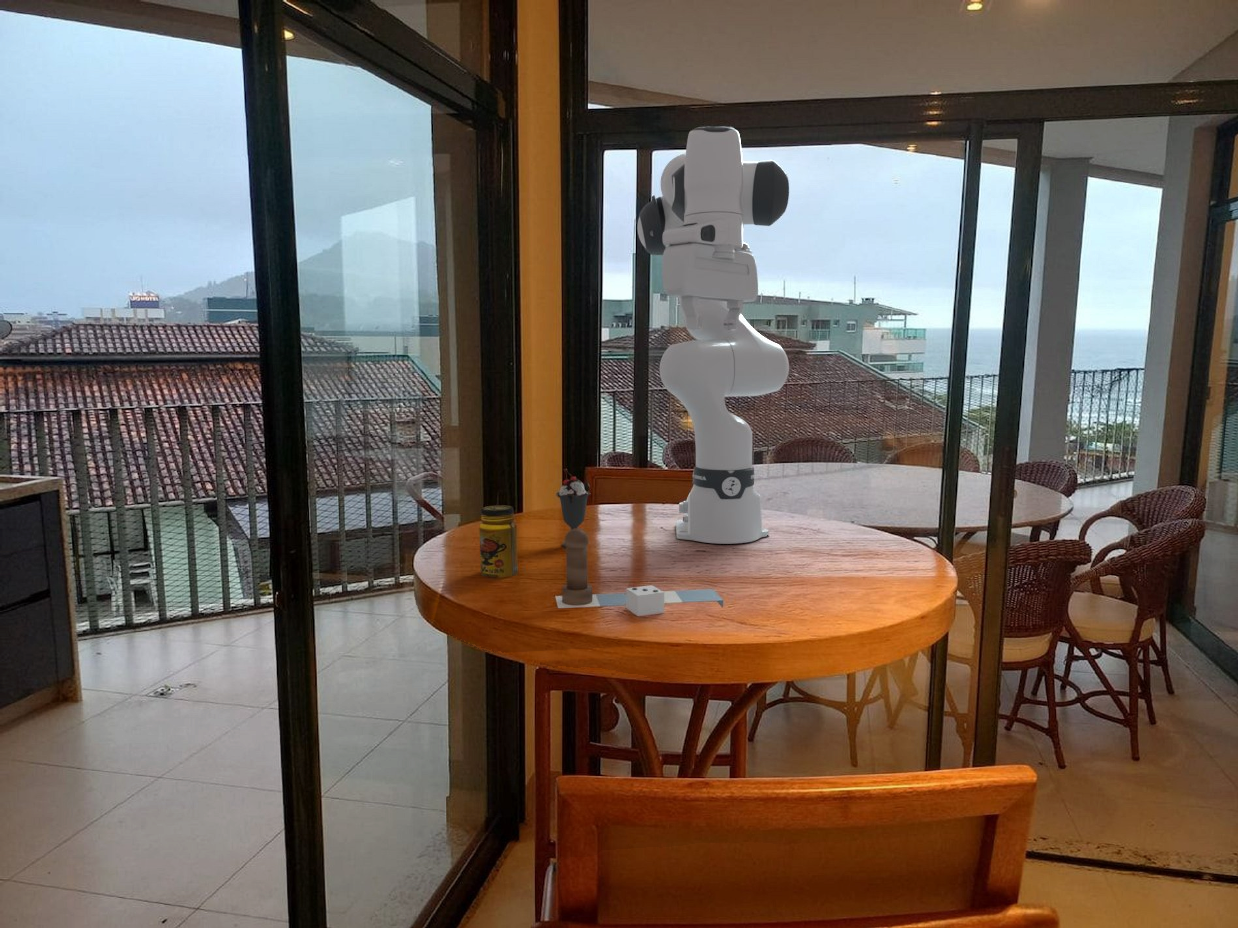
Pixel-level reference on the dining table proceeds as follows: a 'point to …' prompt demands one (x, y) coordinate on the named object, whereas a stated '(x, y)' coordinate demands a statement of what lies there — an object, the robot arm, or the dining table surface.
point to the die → (645, 600)
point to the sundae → (573, 501)
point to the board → (668, 598)
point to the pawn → (576, 569)
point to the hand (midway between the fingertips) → (712, 330)
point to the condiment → (498, 542)
